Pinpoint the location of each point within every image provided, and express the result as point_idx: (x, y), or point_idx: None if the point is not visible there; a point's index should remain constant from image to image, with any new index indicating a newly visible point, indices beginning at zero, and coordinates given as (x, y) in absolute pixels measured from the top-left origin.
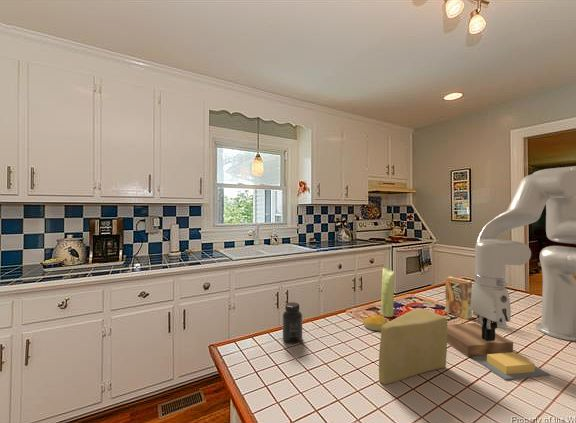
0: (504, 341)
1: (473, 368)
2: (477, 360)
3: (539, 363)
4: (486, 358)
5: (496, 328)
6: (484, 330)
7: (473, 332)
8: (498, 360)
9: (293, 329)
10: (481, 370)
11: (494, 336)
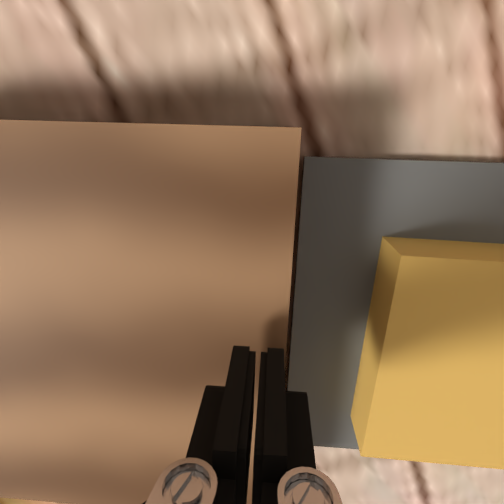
0: (270, 209)
1: (366, 497)
2: (323, 445)
3: (473, 59)
4: (322, 390)
5: (326, 483)
6: (246, 501)
7: (76, 332)
8: (441, 453)
9: None
10: (392, 480)
11: (307, 409)
